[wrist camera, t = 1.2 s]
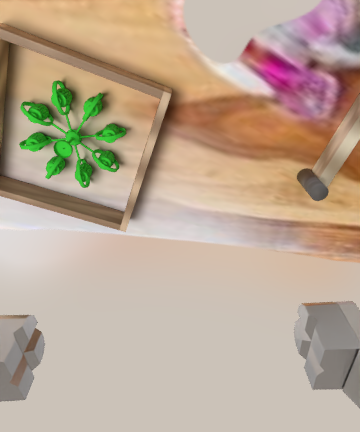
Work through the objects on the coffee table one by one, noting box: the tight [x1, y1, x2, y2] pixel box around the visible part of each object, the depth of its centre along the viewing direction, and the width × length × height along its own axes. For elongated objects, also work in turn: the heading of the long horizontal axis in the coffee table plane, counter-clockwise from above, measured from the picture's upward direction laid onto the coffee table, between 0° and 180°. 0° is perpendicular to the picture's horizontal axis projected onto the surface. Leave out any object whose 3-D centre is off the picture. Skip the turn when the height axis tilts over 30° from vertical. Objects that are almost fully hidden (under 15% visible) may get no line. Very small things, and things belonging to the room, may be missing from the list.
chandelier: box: [19, 81, 126, 188], centre depth 43 cm, size 15×15×7 cm
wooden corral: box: [0, 23, 172, 232], centre depth 44 cm, size 22×22×4 cm
